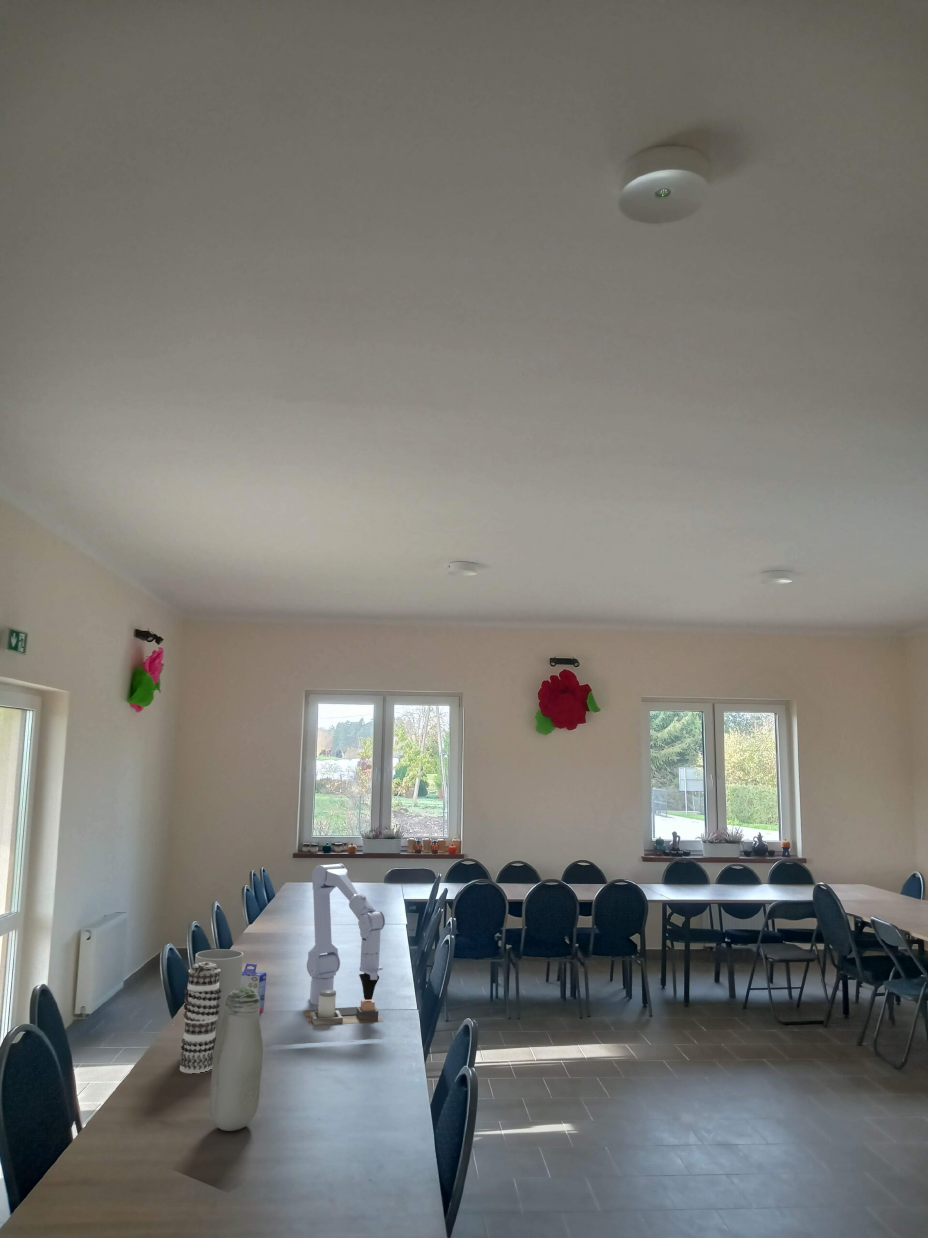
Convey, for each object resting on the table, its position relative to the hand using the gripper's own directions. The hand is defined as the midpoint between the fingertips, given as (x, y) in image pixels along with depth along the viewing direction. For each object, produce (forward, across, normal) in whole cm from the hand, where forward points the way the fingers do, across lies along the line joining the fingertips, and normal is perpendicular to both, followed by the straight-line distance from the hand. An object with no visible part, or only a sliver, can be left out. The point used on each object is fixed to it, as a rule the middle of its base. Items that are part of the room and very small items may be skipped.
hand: (368, 999), depth 261 cm
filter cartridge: (+5, 0, +12) cm, 14 cm away
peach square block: (+3, 0, 0) cm, 3 cm away
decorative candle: (+6, -31, +50) cm, 59 cm away
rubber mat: (+5, +7, +4) cm, 10 cm away
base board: (+6, +3, +7) cm, 10 cm away
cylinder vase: (+6, -20, +46) cm, 51 cm away
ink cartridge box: (+6, +14, +35) cm, 38 cm away
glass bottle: (+7, -70, +43) cm, 82 cm away
